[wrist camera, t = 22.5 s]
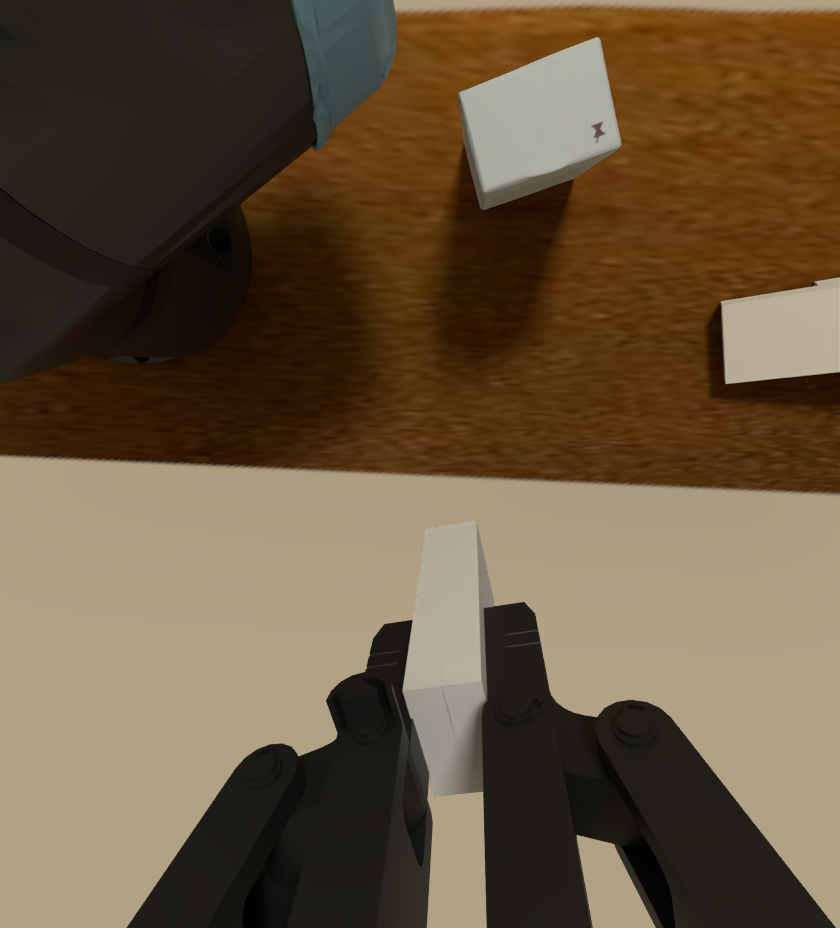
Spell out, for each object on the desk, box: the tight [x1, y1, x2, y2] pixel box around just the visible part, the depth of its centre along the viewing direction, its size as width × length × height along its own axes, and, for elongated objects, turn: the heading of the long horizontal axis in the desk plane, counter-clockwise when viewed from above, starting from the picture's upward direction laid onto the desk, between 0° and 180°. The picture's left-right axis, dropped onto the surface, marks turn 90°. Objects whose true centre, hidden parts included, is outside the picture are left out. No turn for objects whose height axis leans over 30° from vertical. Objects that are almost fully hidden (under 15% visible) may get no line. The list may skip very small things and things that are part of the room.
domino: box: [721, 282, 840, 384], centre depth 35 cm, size 2×5×10 cm
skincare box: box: [458, 38, 621, 210], centre depth 29 cm, size 6×4×12 cm
